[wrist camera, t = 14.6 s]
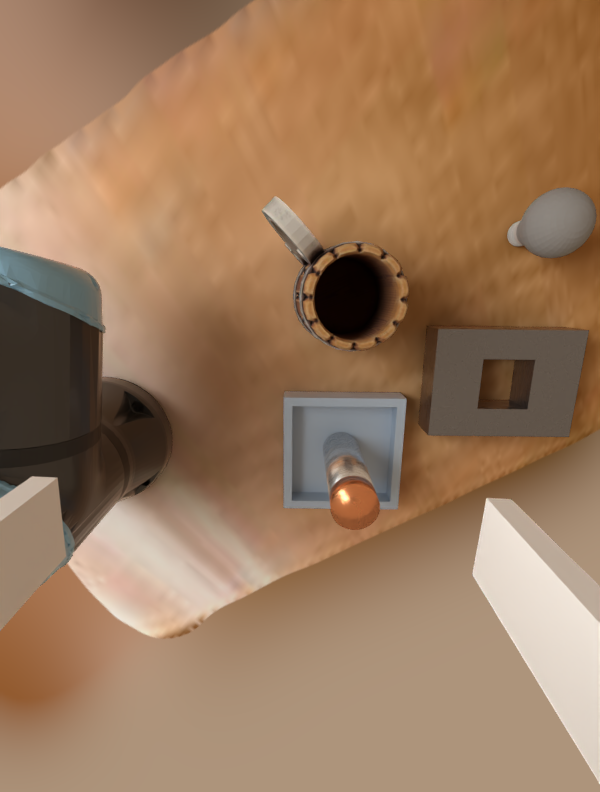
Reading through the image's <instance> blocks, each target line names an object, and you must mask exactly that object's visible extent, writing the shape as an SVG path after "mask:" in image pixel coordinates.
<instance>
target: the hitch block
mask: <svg viewBox="0 0 600 792" xmlns="http://www.w3.org/2000/svg"><path fill="white" fill-rule="evenodd" d="M588 333H589V330H582V329H574V328H567V327H494V326H427V332H426V343H425V354H424V365H423V376H422V388H421V399H420V410H419V421H418V424H419V426H420V427H421V428H422V429H423V430H424V431H425V432H426V433H427V435H439V436H534V437H569V433H570V428H571V422H572V417H573V412H574V407H575V401H576V396H577V391H578V386H579V380H580V375H581V370H582V364H583V359H584V354H585V349H586V343H587V338H588ZM484 359H509V360H515V365H514V372H513V379H512V386H511V392H510V399H509V400H479V392H480V384H481V376H482V368H483V360H484Z"/></svg>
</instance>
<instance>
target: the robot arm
mask: <svg viewBox="0 0 600 792" xmlns="http://www.w3.org/2000/svg"><path fill="white" fill-rule="evenodd" d="M103 333H105V326H104V325H103V323H102V296H101V289H100V286H99V284H98V283H97V281H96V280H95V279H94V278H93V276H92V275H90V274H89V273H88V272H86V271H84V270H82V269H80V268H77V267H74V266H70V265H67V264H64V263H61V262H57V261H54V260H50V259H46V258H43V257H39V256H35V255H31V254H28V253H24V252H20V251H16V250H12V249H8V248H4V247H0V630H1V629H2V628H3V627H4V626H5V624H7V622H8V621H9V620H10V619H11V618H12V617H13V616H14V615H15V613H16V612H17V611H18V610H19V609H20V608H21V607H22V606H23V604H24V603H25V602H26V601H27V600H28V599H29V598H30V596H31V595H32V594H33V593H34V592H35V591H36V590H37V589H38V587H39V586H41V585H42V584H43V583H45V581H47V580H48V579H49V578H50V577H51V576H52V575H53V574H54V573H55V572H56V571H57V570H58V569H59V568H61V567H63V566H64V565H66V564H67V563H68V562H69V560H70V559H71V557H72V556H73V555H72V554H73V552H74V551H75V550H76V549H77V548H78V547H79V546H80V544H81V543H82V542H83V541H84V540H85V539H86V537H87V536H88V535H89V534H90V533H91V532H92V531H93V529H94V528H95V527H96V526H97V525H98V524H99V522H100V521H101V520H102V519H103V518H104V517H105V515H106V514H107V513H108V512H109V511H110V510H111V509H112V507H113V506H114V505H115V504H116V503H117V502H119V501H122V500H124V499H127V498H129V497H132V496H134V495H136V494H138V493H140V492H142V491H143V490H145V489H146V488H148V487H149V486H150V485H151V484H152V483H153V482H154V481H155V480H156V479H157V478H158V476H159V475H160V474H161V472H162V471H163V470H164V468H165V467H166V465H167V463H168V460H169V458H170V455H171V450H172V433H171V428H170V424H169V421H168V419H167V417H166V415H165V413H164V411H163V409H162V408H161V407H160V405H159V404H158V403H157V401H156V400H155V399H154V398H153V397H152V396H151V395H149V394H148V393H147V392H146V391H144V390H143V389H141V388H140V387H138V386H136V385H134V384H132V383H130V382H127V381H125V380H121V379H117V378H110V377H102V360H103ZM472 575H473V576H474V578H475V580H476V582H477V583H478V585H479V586H480V588H481V590H482V591H483V593H484V595H485V596H486V598H487V600H488V601H489V603H490V605H491V606H492V608H493V609H494V611H495V613H496V614H497V616H498V617H499V619H500V621H501V623H502V624H503V626H504V628H505V629H506V631H507V632H508V634H509V636H510V637H511V639H512V641H513V642H514V644H515V646H516V647H517V649H518V650H519V652H520V654H521V655H522V657H523V659H524V660H525V662H526V664H527V665H528V667H529V669H530V670H531V672H532V674H533V675H534V677H535V678H536V680H537V682H538V683H539V685H540V687H541V688H542V690H543V692H544V693H545V695H546V697H547V698H548V700H549V701H550V703H551V705H552V706H553V708H554V710H555V711H556V713H557V715H558V716H559V718H560V720H561V721H562V723H563V724H564V726H565V727H566V729H567V731H568V732H569V734H570V736H571V738H572V739H573V741H574V743H575V744H576V746H577V748H578V749H579V751H580V752H581V754H582V756H583V757H584V759H585V761H586V762H587V764H588V766H589V767H590V769H591V771H592V772H593V774H594V775H595V777H596V779H597V780H598V782H599V784H600V586H599V585H598V584H597V583H596V582H595V581H594V580H593V579H592V578H591V577H590V576H589V575H588V574H587V573H586V572H585V571H584V570H583V569H582V568H581V567H579V565H578V564H577V563H576V562H575V561H574V560H573V559H571V557H570V556H568V555H567V554H566V553H565V552H564V551H563V550H562V549H561V548H560V547H559V546H558V545H557V544H556V543H555V542H554V541H553V540H552V539H551V538H550V537H549V536H548V535H547V534H546V533H545V532H544V531H543V530H542V529H541V528H540V527H539V526H538V525H537V524H536V523H535V522H534V521H533V520H532V519H531V518H530V517H529V516H528V515H527V514H526V513H525V512H524V511H523V510H522V509H520V508H519V506H518V505H517V504H516V503H515V502H513V500H512V499H497V498H487V499H486V504H485V509H484V514H483V520H482V525H481V530H480V536H479V541H478V546H477V552H476V557H475V563H474V568H473V574H472Z"/></svg>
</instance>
